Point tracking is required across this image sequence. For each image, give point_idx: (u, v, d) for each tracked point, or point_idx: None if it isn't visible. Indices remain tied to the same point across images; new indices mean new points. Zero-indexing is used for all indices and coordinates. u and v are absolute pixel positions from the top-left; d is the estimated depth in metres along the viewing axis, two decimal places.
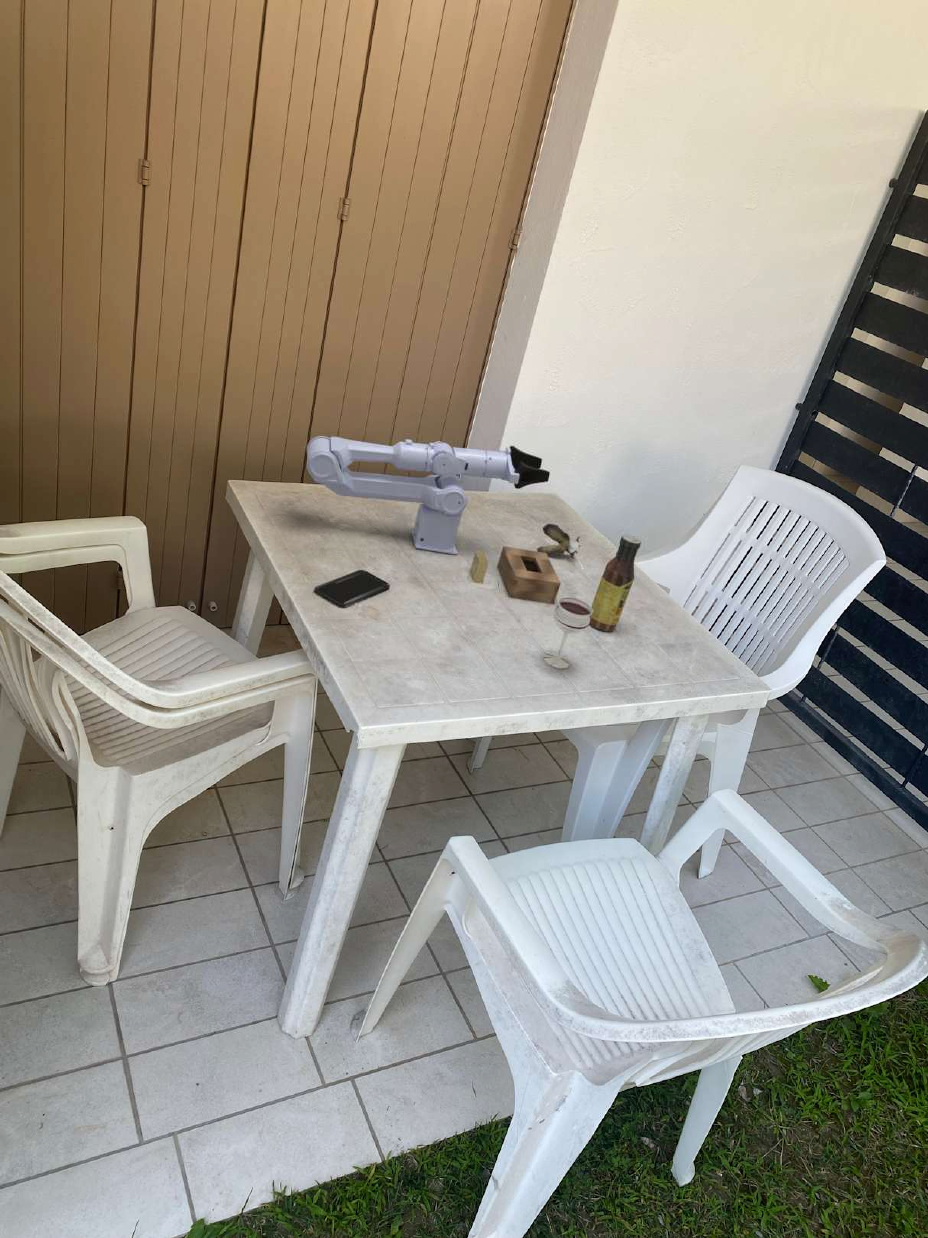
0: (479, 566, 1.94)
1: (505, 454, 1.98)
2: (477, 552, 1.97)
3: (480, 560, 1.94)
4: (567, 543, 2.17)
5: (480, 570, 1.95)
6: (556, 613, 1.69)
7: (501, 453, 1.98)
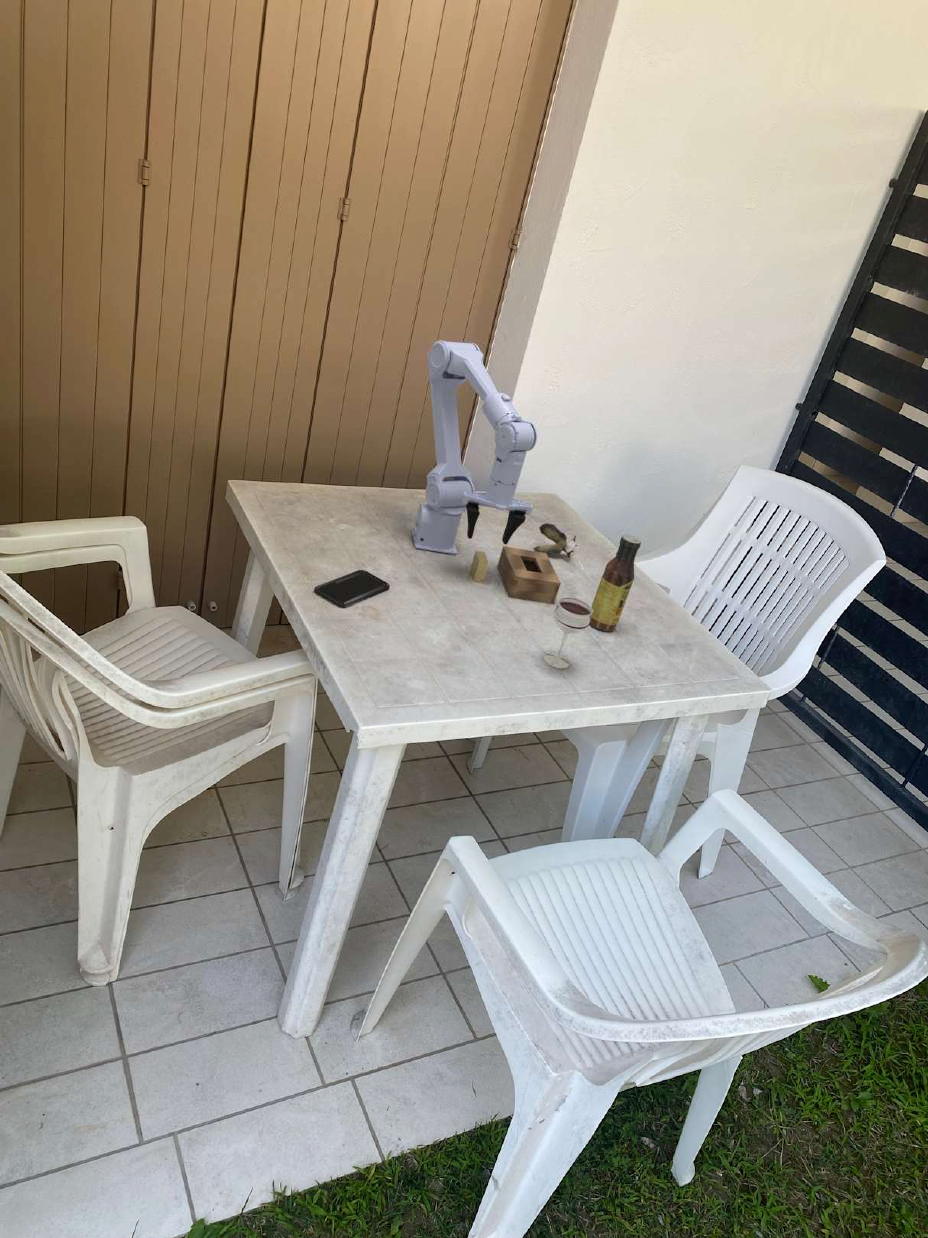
0: (479, 566, 1.94)
1: (498, 503, 1.87)
2: (477, 552, 1.97)
3: (480, 560, 1.94)
4: (564, 542, 2.17)
5: (480, 570, 1.95)
6: (556, 613, 1.69)
7: (500, 499, 1.86)
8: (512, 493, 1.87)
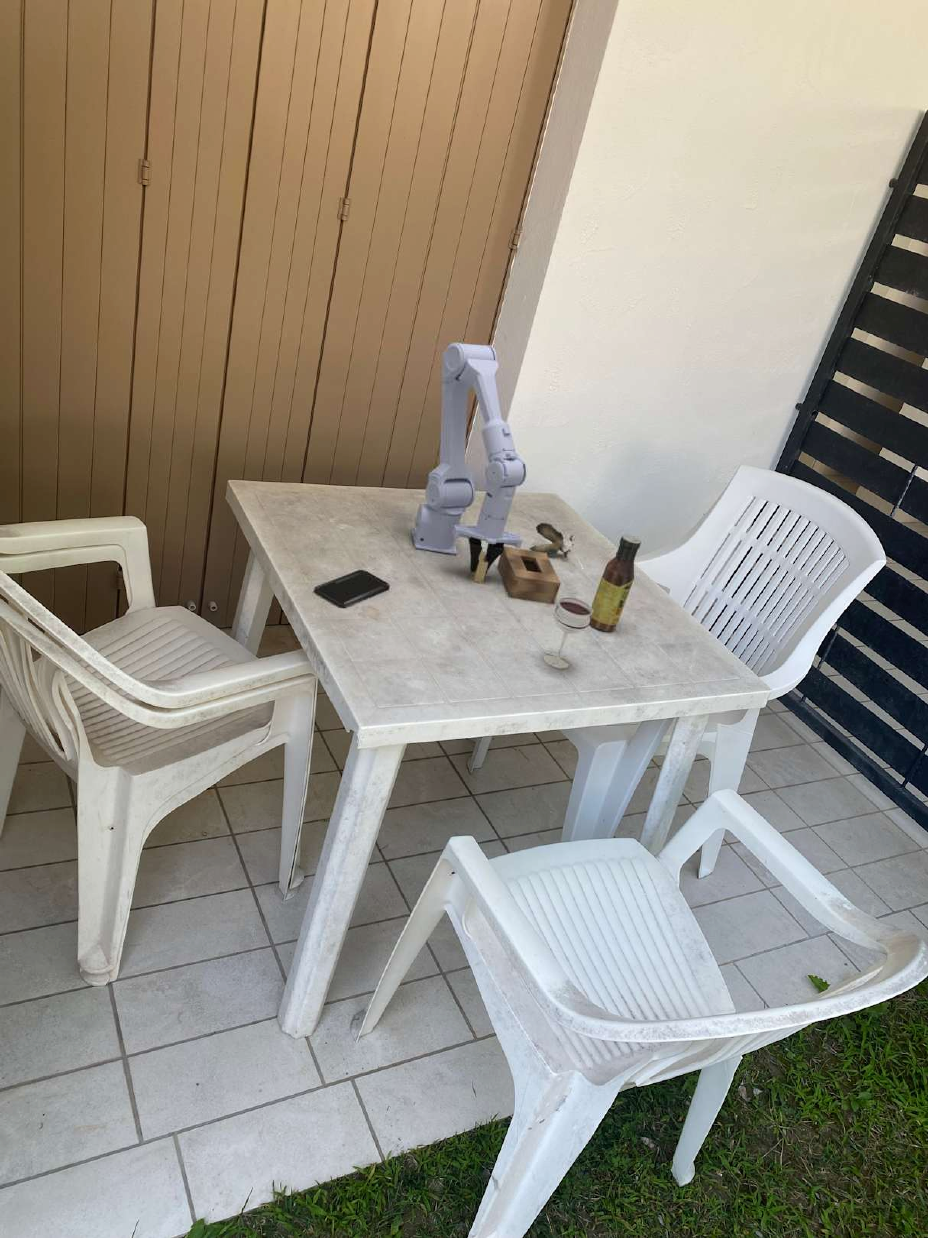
0: (479, 566, 1.94)
1: (488, 536, 1.90)
2: None
3: (480, 560, 1.94)
4: (560, 542, 2.16)
5: (480, 570, 1.95)
6: (556, 613, 1.69)
7: (491, 533, 1.90)
8: (502, 527, 1.91)
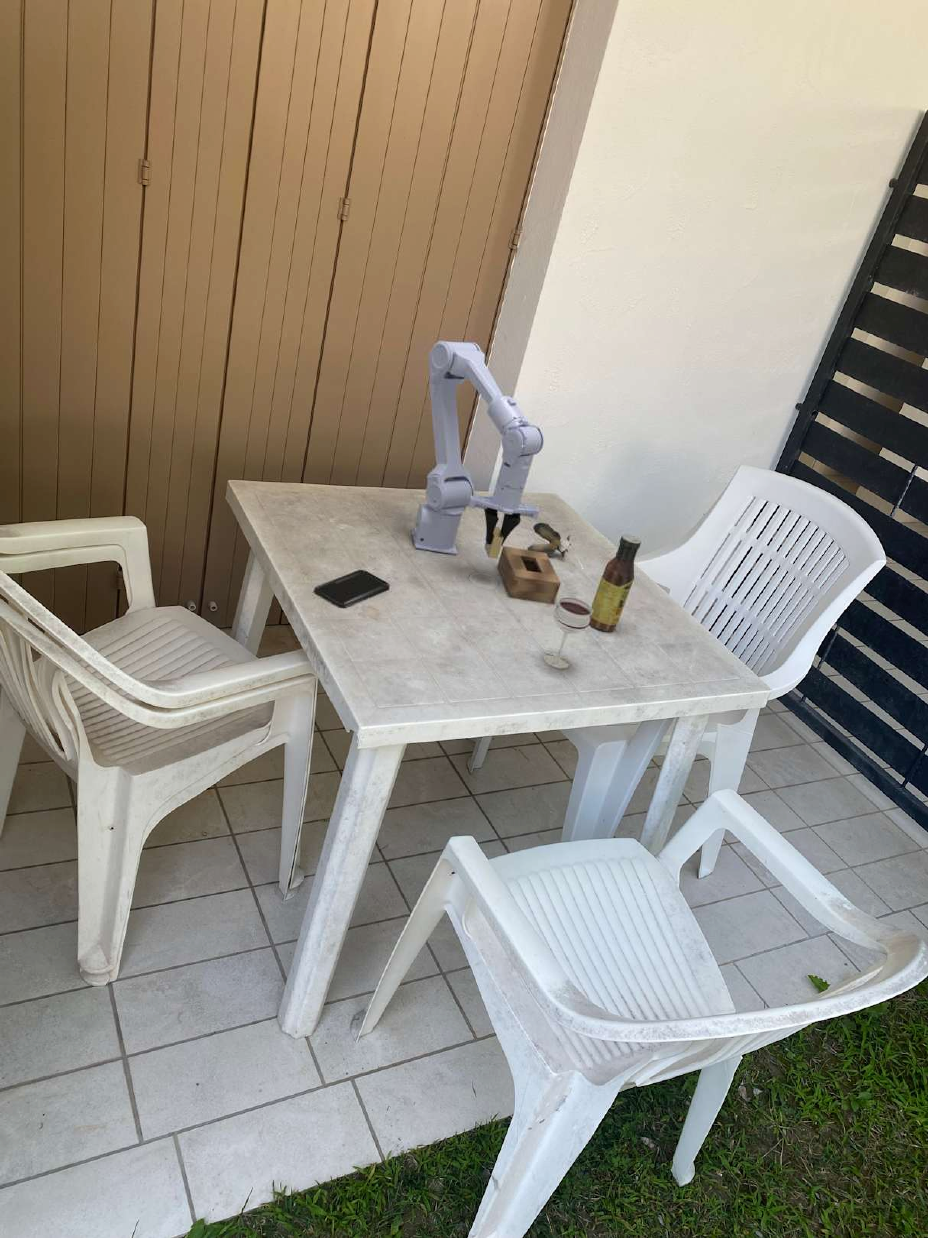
0: (494, 541, 1.91)
1: (504, 507, 1.87)
2: None
3: (495, 535, 1.91)
4: (558, 542, 2.16)
5: (495, 545, 1.92)
6: (556, 613, 1.69)
7: (507, 503, 1.87)
8: (519, 497, 1.88)
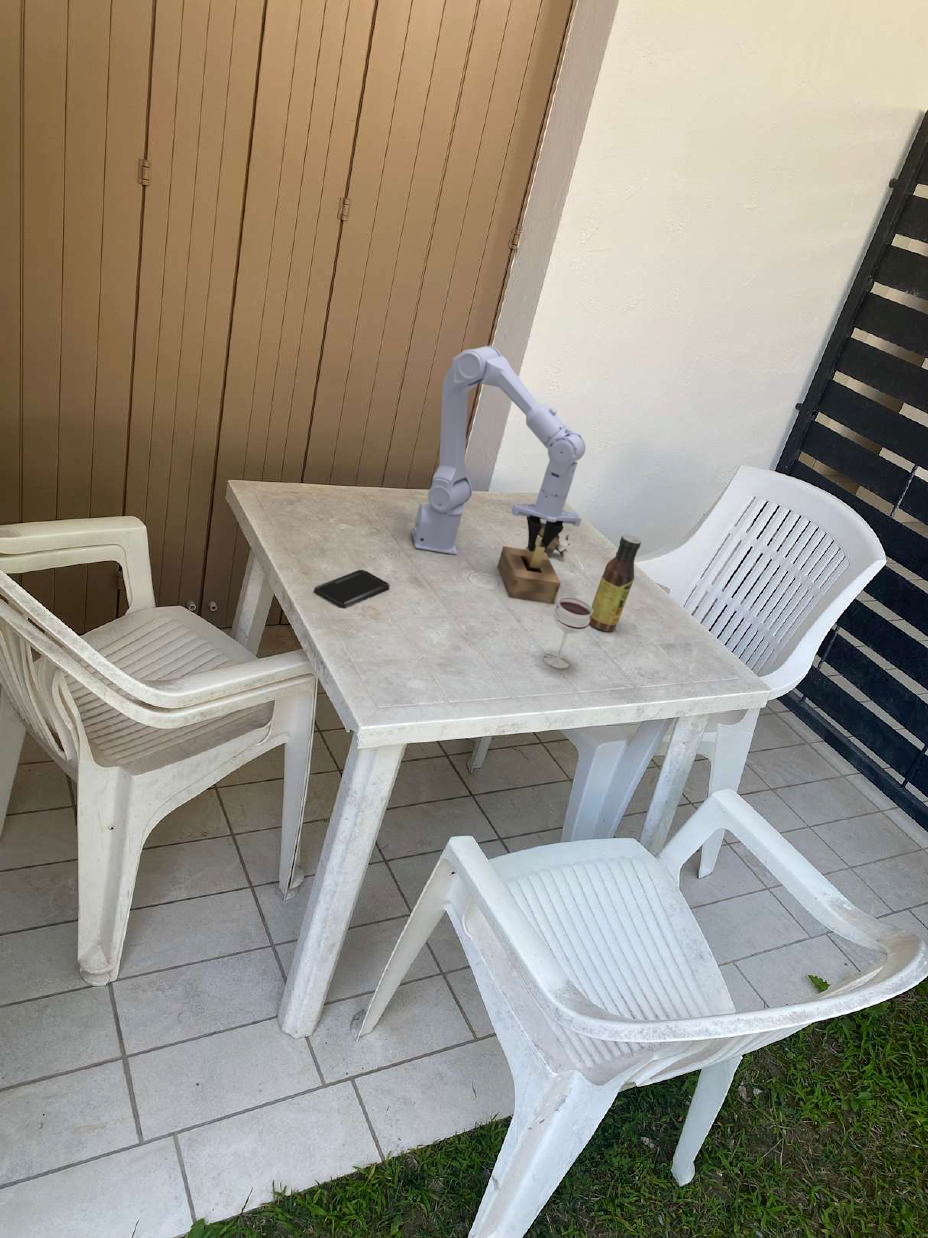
0: (536, 551, 1.94)
1: (548, 514, 1.90)
2: None
3: (537, 545, 1.94)
4: (556, 541, 2.16)
5: (537, 555, 1.95)
6: (556, 613, 1.69)
7: (551, 511, 1.89)
8: (562, 505, 1.90)
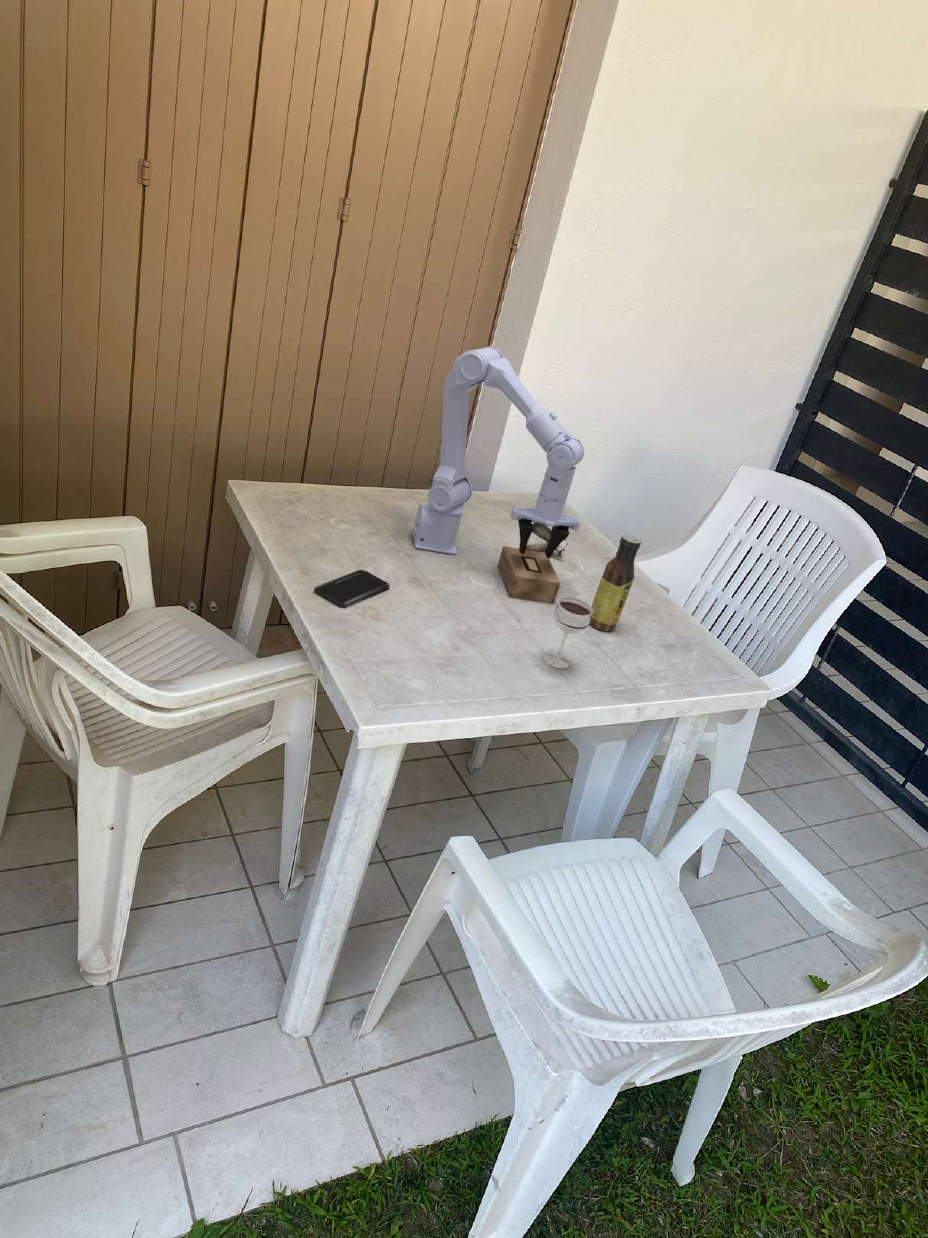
0: None
1: (547, 519, 1.90)
2: (527, 559, 2.00)
3: (531, 568, 1.97)
4: None
5: None
6: (556, 613, 1.69)
7: (549, 515, 1.90)
8: (561, 509, 1.90)
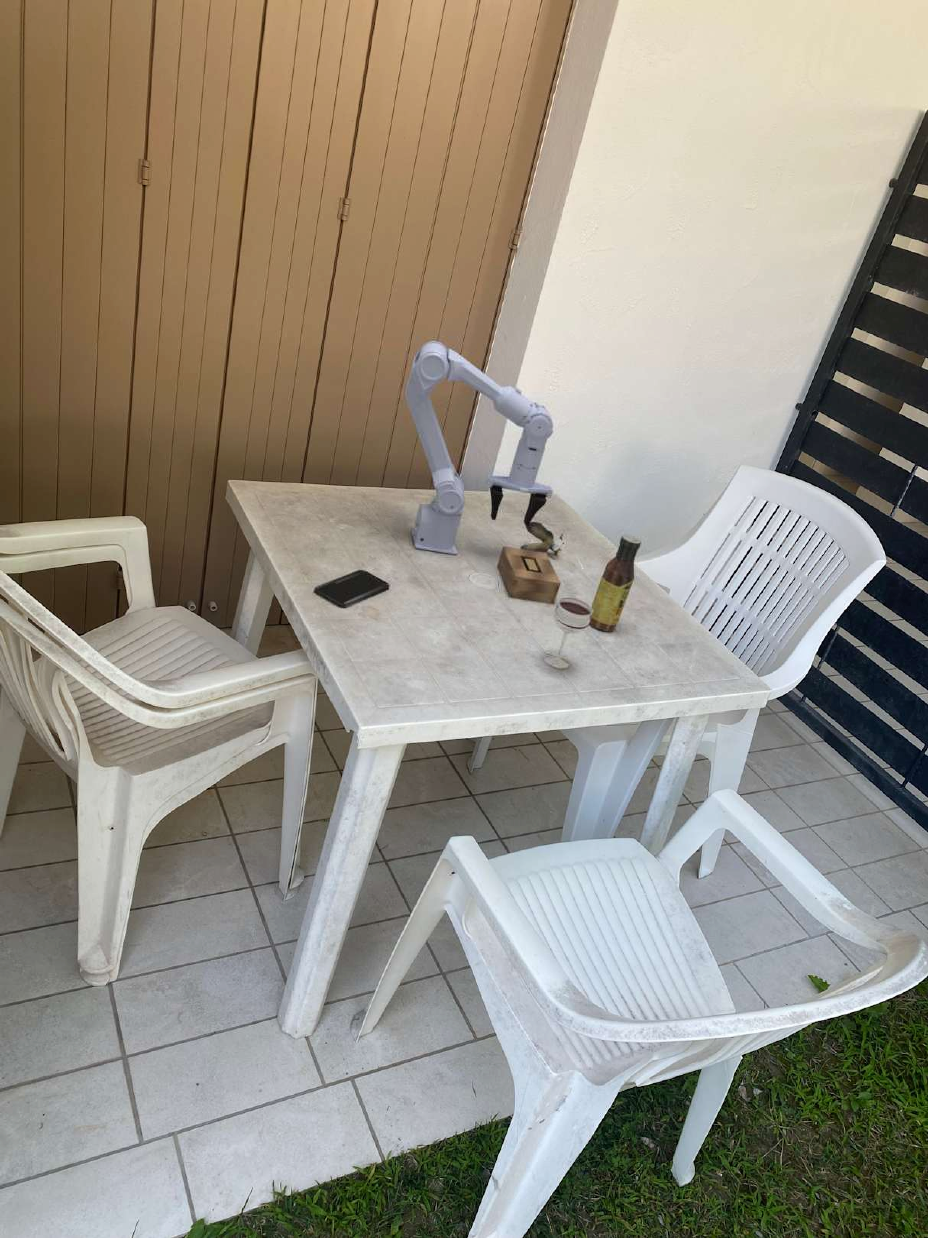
0: None
1: (520, 486, 1.98)
2: (526, 559, 2.00)
3: (530, 568, 1.97)
4: (551, 541, 2.16)
5: None
6: (556, 613, 1.69)
7: (523, 482, 1.97)
8: (534, 477, 1.98)
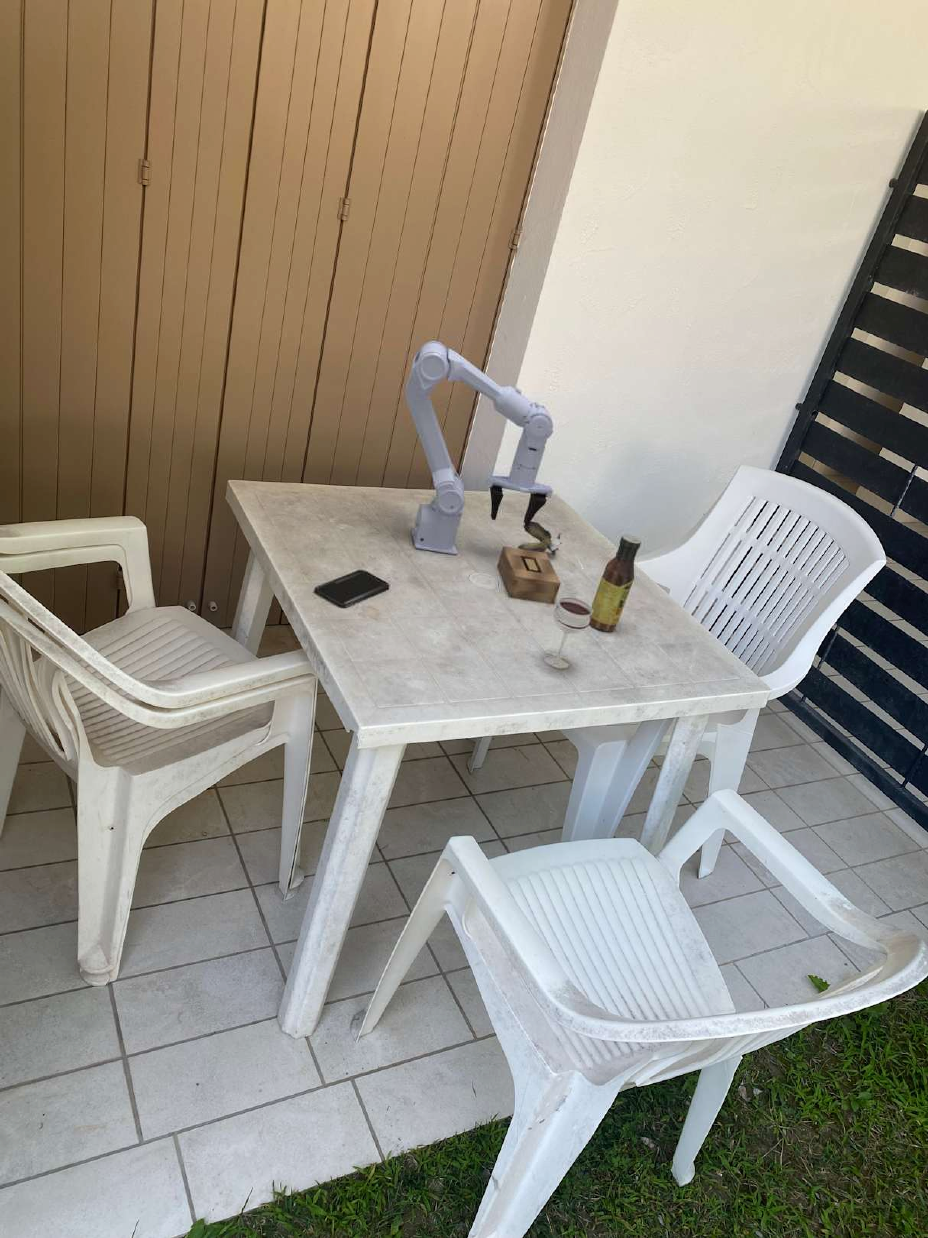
0: None
1: (520, 486, 1.98)
2: (526, 559, 2.00)
3: (530, 568, 1.97)
4: (548, 540, 2.15)
5: None
6: (556, 613, 1.69)
7: (523, 482, 1.97)
8: (534, 476, 1.98)
